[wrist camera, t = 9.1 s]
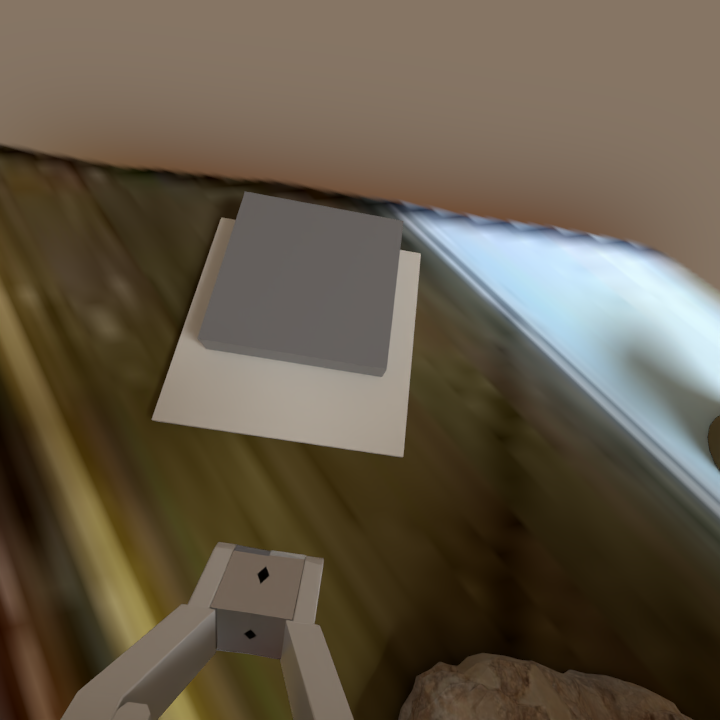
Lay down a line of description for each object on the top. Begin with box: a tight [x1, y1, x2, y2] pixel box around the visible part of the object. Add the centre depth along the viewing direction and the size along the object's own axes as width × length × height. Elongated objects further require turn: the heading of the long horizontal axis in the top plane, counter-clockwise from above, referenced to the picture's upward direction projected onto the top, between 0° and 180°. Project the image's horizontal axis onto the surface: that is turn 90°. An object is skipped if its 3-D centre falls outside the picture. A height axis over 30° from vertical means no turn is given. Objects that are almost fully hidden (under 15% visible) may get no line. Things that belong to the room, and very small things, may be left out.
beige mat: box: [152, 217, 421, 457], centre depth 25 cm, size 16×16×1 cm
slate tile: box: [197, 192, 403, 377], centre depth 24 cm, size 2×12×12 cm
